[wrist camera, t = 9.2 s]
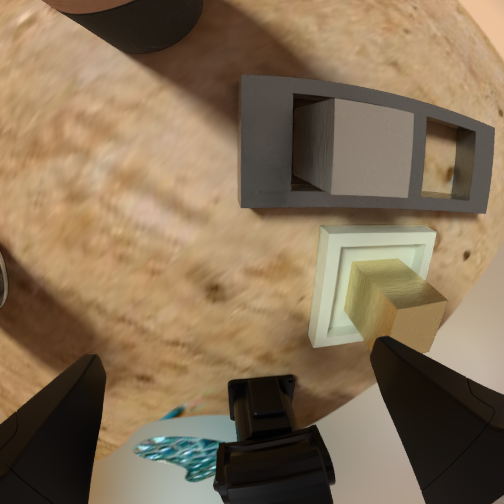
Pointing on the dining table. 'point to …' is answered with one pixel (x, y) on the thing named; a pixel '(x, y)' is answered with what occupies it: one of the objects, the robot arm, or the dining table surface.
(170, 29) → the travel mug
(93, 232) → the dining table surface
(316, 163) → the grey square block
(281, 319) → the dining table surface
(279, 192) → the rail
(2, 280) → the coffee can
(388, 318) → the beige wooden block
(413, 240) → the tray
